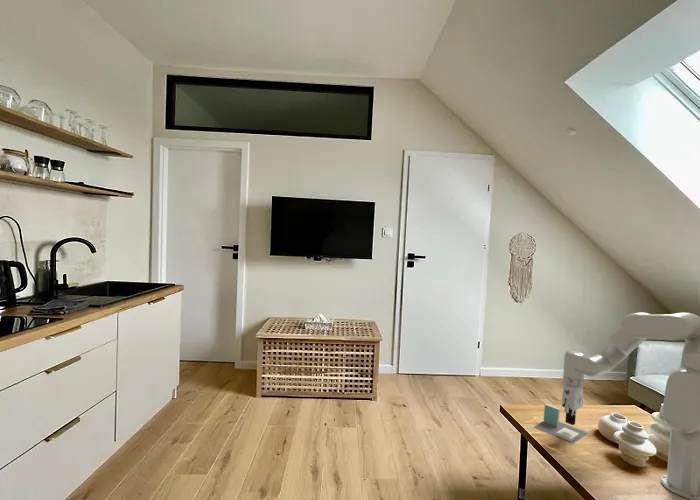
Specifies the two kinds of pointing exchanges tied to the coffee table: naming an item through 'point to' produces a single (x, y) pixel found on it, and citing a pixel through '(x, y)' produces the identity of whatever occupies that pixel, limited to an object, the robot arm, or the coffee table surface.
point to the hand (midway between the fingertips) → (570, 423)
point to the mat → (552, 429)
